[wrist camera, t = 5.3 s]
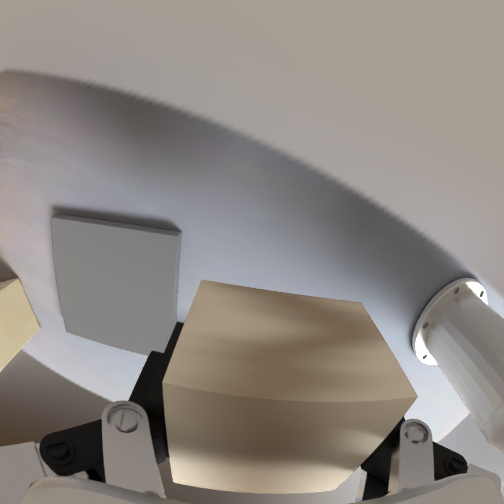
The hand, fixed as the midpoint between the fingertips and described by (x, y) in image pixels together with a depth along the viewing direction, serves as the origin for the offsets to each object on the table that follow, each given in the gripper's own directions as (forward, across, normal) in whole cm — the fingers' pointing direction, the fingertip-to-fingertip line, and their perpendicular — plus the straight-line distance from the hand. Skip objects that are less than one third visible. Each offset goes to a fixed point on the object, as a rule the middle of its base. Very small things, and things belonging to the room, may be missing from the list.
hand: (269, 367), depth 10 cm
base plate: (+15, +14, +7) cm, 22 cm away
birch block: (+1, 0, 0) cm, 1 cm away
